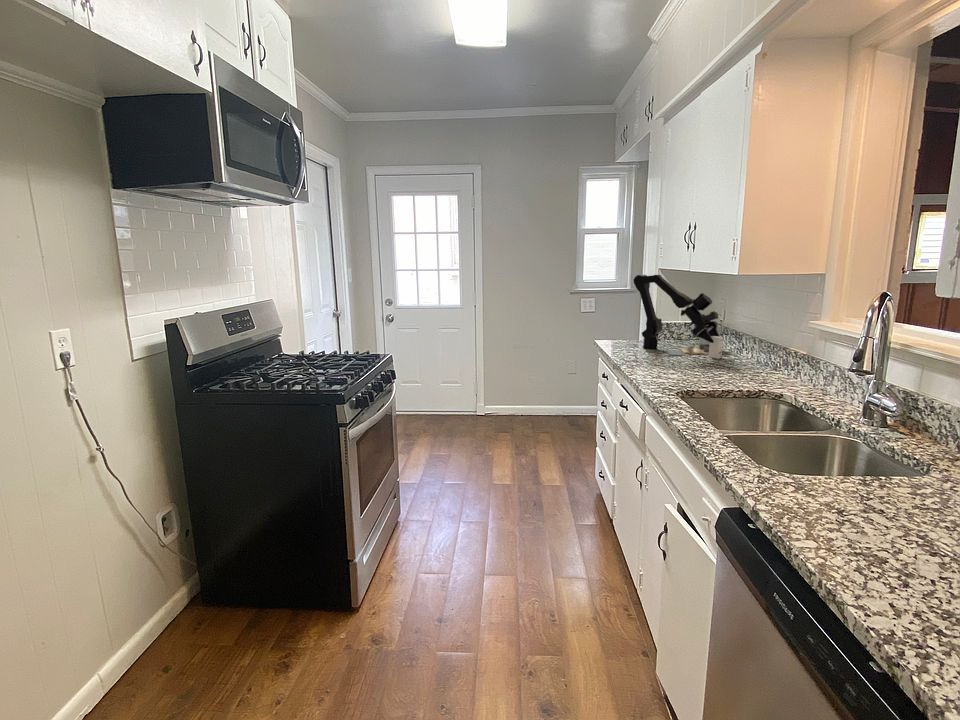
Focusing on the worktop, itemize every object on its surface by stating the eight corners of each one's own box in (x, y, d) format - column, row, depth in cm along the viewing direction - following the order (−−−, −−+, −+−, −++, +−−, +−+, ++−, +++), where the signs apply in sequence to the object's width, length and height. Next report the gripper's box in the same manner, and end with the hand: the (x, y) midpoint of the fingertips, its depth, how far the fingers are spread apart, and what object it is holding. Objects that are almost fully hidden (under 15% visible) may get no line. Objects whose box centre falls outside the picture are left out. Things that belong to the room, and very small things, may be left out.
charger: (708, 357, 254) (710, 336, 252) (711, 355, 258) (713, 335, 256) (718, 358, 251) (720, 338, 249) (721, 357, 255) (723, 336, 252)
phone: (668, 356, 257) (669, 354, 257) (665, 352, 269) (665, 350, 269) (682, 357, 256) (682, 355, 256) (678, 352, 268) (679, 350, 267)
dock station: (684, 353, 262) (685, 346, 261) (679, 349, 275) (679, 341, 274) (723, 355, 259) (724, 347, 258) (716, 350, 271) (717, 343, 271)
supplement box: (698, 347, 280) (700, 324, 277) (709, 347, 282) (711, 323, 279) (707, 350, 273) (710, 326, 270) (719, 349, 275) (721, 325, 272)
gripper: (701, 307, 246) (722, 333, 241) (715, 304, 260) (736, 328, 254) (683, 322, 253) (704, 347, 248) (698, 319, 267) (718, 343, 261)
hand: (716, 341), depth 253 cm, fingers open, 9 cm apart
